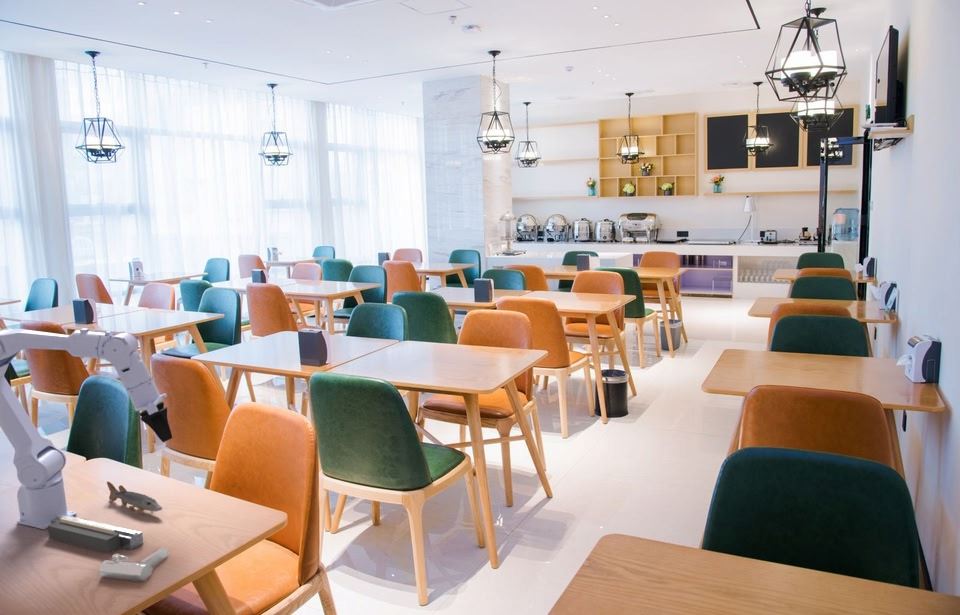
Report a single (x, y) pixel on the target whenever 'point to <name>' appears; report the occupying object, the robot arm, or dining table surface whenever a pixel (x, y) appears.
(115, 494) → the fish
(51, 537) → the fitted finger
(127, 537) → the rail
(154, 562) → the silver l-shaped piece
